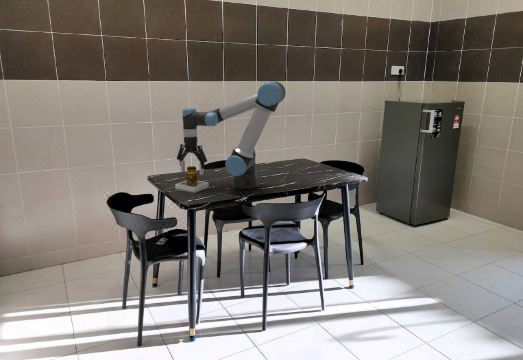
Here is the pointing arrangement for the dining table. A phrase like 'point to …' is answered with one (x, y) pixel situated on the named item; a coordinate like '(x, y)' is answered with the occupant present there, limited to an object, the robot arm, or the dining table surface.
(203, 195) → the dining table surface
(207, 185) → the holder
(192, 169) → the condiment
